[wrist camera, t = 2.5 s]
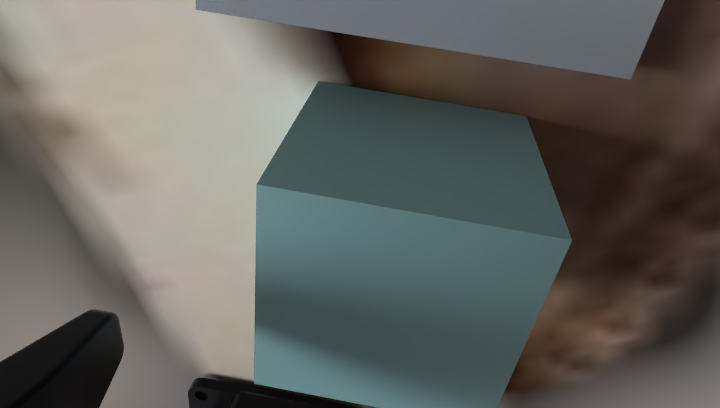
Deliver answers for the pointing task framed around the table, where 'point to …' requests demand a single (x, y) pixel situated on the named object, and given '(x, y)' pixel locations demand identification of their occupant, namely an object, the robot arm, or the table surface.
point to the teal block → (401, 251)
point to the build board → (481, 26)
